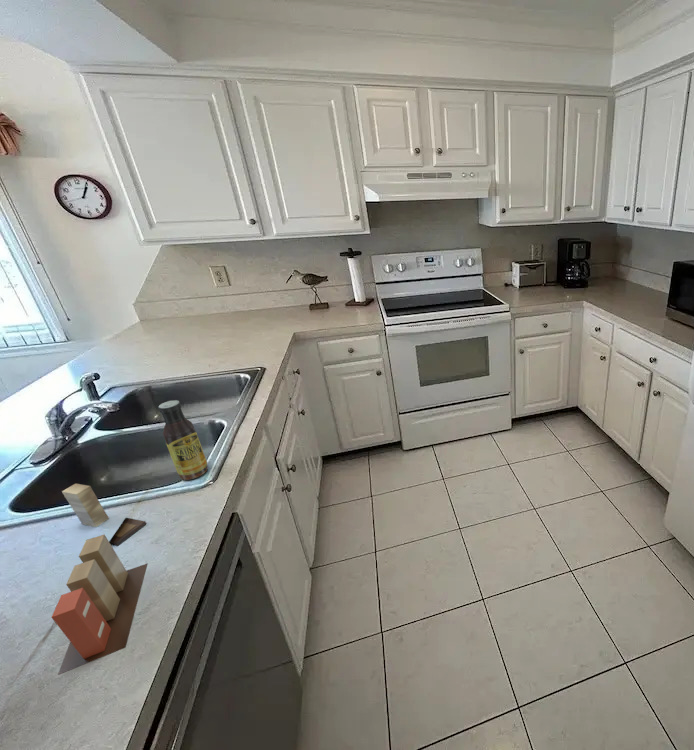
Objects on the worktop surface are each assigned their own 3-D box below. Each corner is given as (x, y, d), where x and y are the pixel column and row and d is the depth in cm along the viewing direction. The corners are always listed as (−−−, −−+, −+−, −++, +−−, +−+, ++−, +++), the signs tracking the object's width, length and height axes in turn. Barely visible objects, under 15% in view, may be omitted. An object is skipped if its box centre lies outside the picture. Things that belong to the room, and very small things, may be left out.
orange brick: (83, 659, 63) (50, 617, 58) (91, 636, 66) (60, 595, 61) (105, 650, 64) (74, 608, 59) (111, 628, 67) (83, 587, 63)
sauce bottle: (187, 484, 100) (156, 414, 91) (175, 476, 103) (143, 407, 94) (215, 469, 105) (188, 402, 96) (203, 462, 108) (175, 395, 99)
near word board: (59, 678, 61) (21, 633, 56) (95, 584, 75) (66, 542, 71) (127, 650, 64) (96, 605, 60) (149, 566, 79) (125, 524, 74)
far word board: (117, 545, 83) (93, 505, 79) (73, 536, 86) (47, 496, 81) (146, 523, 88) (125, 484, 84) (103, 515, 91) (81, 477, 86)
